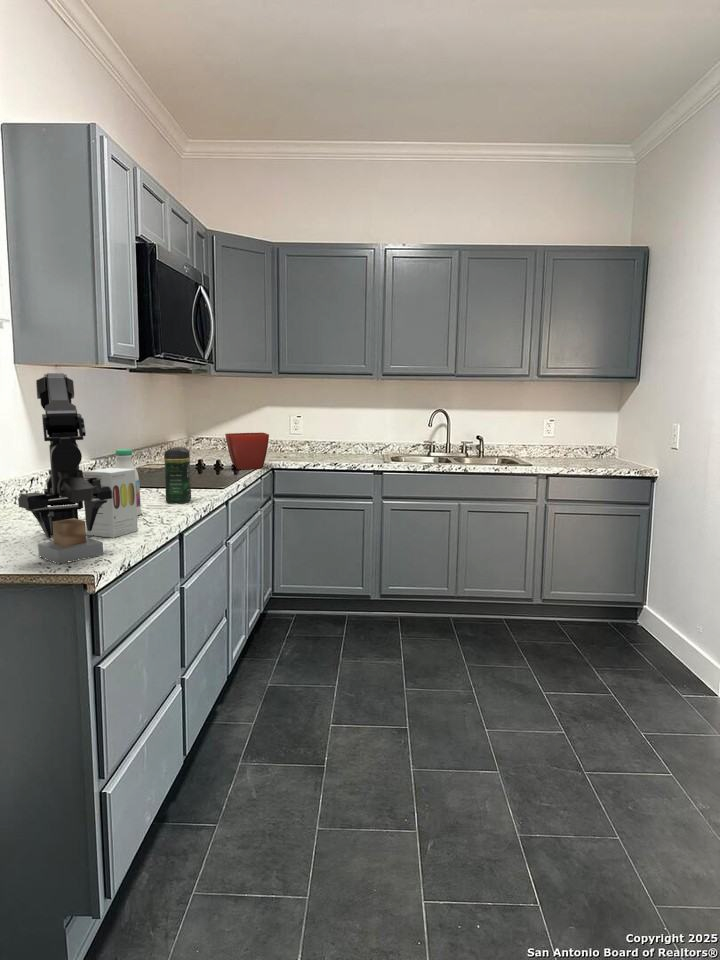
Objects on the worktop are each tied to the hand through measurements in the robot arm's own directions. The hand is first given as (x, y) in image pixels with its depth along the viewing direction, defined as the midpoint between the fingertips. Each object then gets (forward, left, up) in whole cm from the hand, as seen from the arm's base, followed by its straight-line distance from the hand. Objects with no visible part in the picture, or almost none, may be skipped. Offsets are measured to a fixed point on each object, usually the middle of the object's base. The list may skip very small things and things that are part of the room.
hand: (69, 534), depth 141 cm
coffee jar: (-57, -43, -5) cm, 72 cm away
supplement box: (-18, -15, -5) cm, 24 cm away
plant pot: (-135, -100, -5) cm, 168 cm away
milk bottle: (-33, -34, -5) cm, 48 cm away
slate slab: (0, 0, -5) cm, 5 cm away
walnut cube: (0, 0, -2) cm, 2 cm away
